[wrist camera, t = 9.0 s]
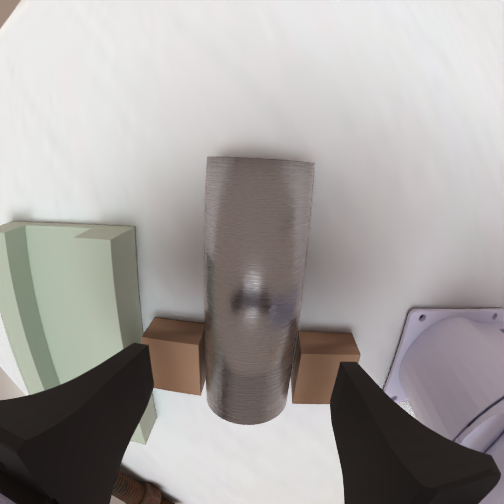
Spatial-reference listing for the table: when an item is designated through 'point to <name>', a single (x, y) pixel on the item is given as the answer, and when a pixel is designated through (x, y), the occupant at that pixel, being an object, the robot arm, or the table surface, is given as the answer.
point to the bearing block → (194, 367)
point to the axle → (253, 281)
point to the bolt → (136, 491)
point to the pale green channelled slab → (69, 301)
